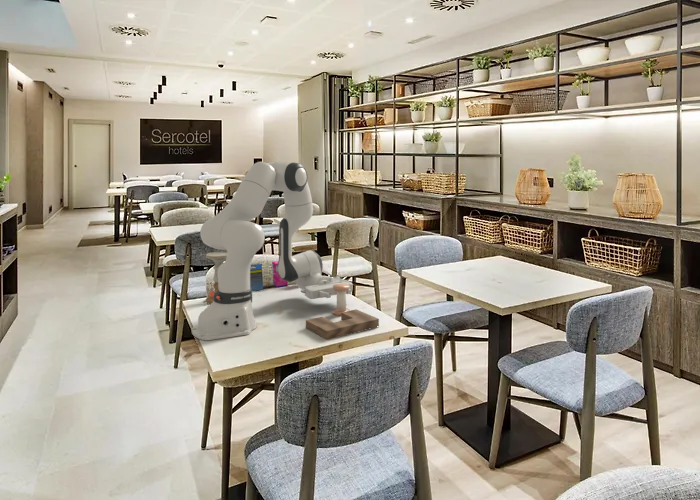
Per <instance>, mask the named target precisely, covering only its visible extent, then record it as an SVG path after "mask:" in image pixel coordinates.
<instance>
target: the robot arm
mask: <svg viewBox="0 0 700 500" xmlns="http://www.w3.org/2000/svg"><path fill="white" fill-rule="evenodd" d="M310 189H311V188H310V186H309V182H308V172H307V170H306V168H305V167H304V165H303V164H300V163H298V162H286V161H271V162H269V161H268V162H267V161H266V162H264V161H257V162H255V163H254V164H252V166H251V167H250V168H249V169H248V171H247V172H246V173H245V175H244V177H243V179H242V180H241V182H240V184H239V186H238V188H237V189H236V191H235V193H234V195H233V197H232V198H231V200H230V201H229V202H228V203H227V204H226V206H224V208H222V210H221V211H220V212H218V213H217V214H216V215H215V216H213V217H211V218H209V219H207V220H206V221H204V223H203V224H202V226H201V228H200V231H199V232H200V234H199V235H200V239H201V241H202V242H203V244H204V245H206V246H208V247H210V248H213V249H215V250H221V251H226V252H227V258H225V261H224V262H223V264H221V265H220V266H219V268H218V288H219V289H218V291H217V292H216V293H215V291H213V290H211V291H209V292H208V297H209V296H211V297H214V302H213V303H211V304H208V306H207V307H205V308H204V309H203V311H201V312H200V313H199V314H198V315H199V316H198V319H197V325H196V326H192V328H191V334H192V335H193V337H195V338H196V339H199V340H201V341H211V340H212V341H213V340H220V339H227V338H232V337H233V338H234V337H238V336H240V337H241V336H245V335H250V333H251V332H252V331H254V330H255V329H256V328H257V322H256V319H255V316H254V310H253V306H252V305H253V304H252V303H253V291H252V288H251V287H250V269H251V268H252V267H251V265H252V262H253V258H254V256H255V255H256V253H257V252H259V251H260V250H261V249H262V247H263V246H264V243H265V237H266V235H265V232H264V231H265V230H264V229H263V227H262V226H261V225H260V224H257V223H255V222H252V220H253V219H256V218H258V217H259V216H260V215H261V213H262V212H263V209H264V208H265V205H266V203H267V202H268V200H269V198H270V196H271V193H272V191H277V192H278V191H279V192H283V199H284V200H283V201H284V214H283V217H282V219H281V220H280V222H279V228H278V231H279V232H278V260H277V261H278V273H279V276H280V277H281V278H282V279H283V280H285V281H287V282H288V283H292V282H294V283H295V285H296V286H297V288H299V290H300V292H301V293H302V294H304V296H305V297H306V298H307V299H309V300H316V299H323V298H326V299H330V298H331V297H333V296H337V291H335V290H333V285H335V284H348V285H349V286H350V289H349V290H347V291H346V295H351V293H352V292H353V290H354V289H353V288H354V287H353V285H354V284H353V282H351V281H349V280H347V279H344V278H341V277H340V276H336V275H331V276H327V275H322V273H323V267H324V264H323V259H322V257H321V256H320V255H319V254H318V253H317V252H316V251H315V250H312V249H309V250H306V251H303V252H300V253H297V254H294V255H292V254H293V253H292V252H293V247H292V246H293V245H292V244H293V242H292V241H293V237H294V235H295V234H296V232H298V230H299V229H301V228H302V227H303V226H305V225H306V224H308V222H309V221H310V220H311V218H312V217H313V214H314V206H313V205H314V204H313V199H312V194H311V190H310Z"/></svg>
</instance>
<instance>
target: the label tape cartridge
mask: <svg viewBox="0 0 700 500" xmlns="http://www.w3.org/2000/svg"><path fill="white" fill-rule="evenodd" d="M252 267H253V268H252ZM263 279H264V278H263V263H256V264H251V267H250V287H251V288H252V292H255V291H263V290H264V280H263Z"/></svg>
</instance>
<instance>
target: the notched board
mask: <svg viewBox="0 0 700 500" xmlns="http://www.w3.org/2000/svg"><path fill="white" fill-rule="evenodd" d="M340 318H341V320H340V321H332V320H330V319H328V318H327V317H324V316H318V317H314V318H310V319H305V329H307V330H308V331H311V332H312V333H314V334H316V335H318V336H319V337H321V338H323V339H325V340H331V339H335V338H340V337H342V336H347V334H348V335H352V334H355V333H354V332H356V333H359V332H358V331H360V332H363V331H362V330H364V331H366V330H365V329H368V330H370V329H369V328H372V329H374V328H373V327H376V328H378V327H377V326H379V327H380V319H379V318H378V317H376V316H373V315H370V314H368V313H366V312H364V311H361V310H359V309H351V310H350V311H346V312H341V316H340ZM351 333H352V334H351Z"/></svg>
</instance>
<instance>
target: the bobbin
mask: <svg viewBox="0 0 700 500" xmlns="http://www.w3.org/2000/svg"><path fill="white" fill-rule="evenodd" d="M349 289H350V286H349V285H348V284H335V285H333V290H335V291H337V295H336V308H335V309H333V310H332V311H333V312H332V313H333V315H335V316H338V317H339V316H340V317H341V312H346V311H351V310H350V309H349V308H347V294H346V291H347V290H349Z"/></svg>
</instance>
